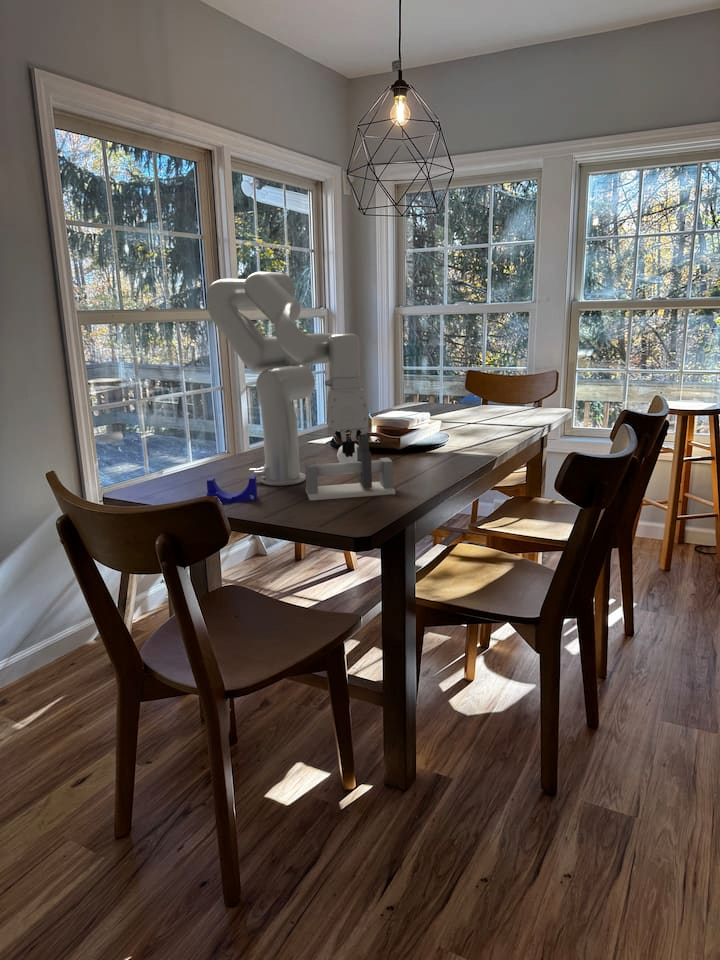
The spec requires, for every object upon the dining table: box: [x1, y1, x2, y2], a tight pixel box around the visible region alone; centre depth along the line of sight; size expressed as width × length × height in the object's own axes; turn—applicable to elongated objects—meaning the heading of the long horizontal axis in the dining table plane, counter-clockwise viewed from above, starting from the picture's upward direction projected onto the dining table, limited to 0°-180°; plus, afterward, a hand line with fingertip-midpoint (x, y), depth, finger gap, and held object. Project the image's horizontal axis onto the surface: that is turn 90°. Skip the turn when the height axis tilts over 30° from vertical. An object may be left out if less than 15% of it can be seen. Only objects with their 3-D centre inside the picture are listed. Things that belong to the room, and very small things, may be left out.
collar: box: [357, 432, 373, 488], centre depth 173 cm, size 2×9×13 cm, turn 10°
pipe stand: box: [304, 457, 396, 501], centre depth 174 cm, size 22×10×8 cm, turn 100°
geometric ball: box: [336, 443, 359, 463], centre depth 202 cm, size 8×8×8 cm
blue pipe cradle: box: [206, 475, 258, 505], centre depth 169 cm, size 12×4×6 cm, turn 93°
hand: (348, 455), depth 172 cm, fingers closed
